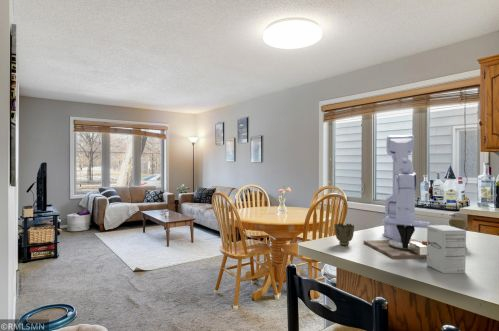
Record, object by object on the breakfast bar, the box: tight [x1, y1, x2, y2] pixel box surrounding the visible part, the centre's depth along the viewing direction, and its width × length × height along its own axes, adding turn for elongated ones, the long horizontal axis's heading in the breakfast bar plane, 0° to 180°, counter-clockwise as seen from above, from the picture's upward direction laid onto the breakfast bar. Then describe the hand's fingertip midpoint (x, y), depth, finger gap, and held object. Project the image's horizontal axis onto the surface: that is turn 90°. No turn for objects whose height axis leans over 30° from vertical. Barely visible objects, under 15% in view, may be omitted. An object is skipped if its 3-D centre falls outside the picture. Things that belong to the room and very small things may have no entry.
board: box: [363, 238, 427, 260], centre depth 113 cm, size 20×22×5 cm
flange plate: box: [389, 239, 427, 255], centre depth 111 cm, size 16×11×3 cm, turn 3°
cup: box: [333, 222, 355, 247], centre depth 119 cm, size 8×7×8 cm
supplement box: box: [426, 224, 467, 274], centre depth 92 cm, size 7×7×13 cm
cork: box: [448, 217, 466, 230], centre depth 117 cm, size 6×6×11 cm
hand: (405, 247), depth 106 cm, fingers closed
